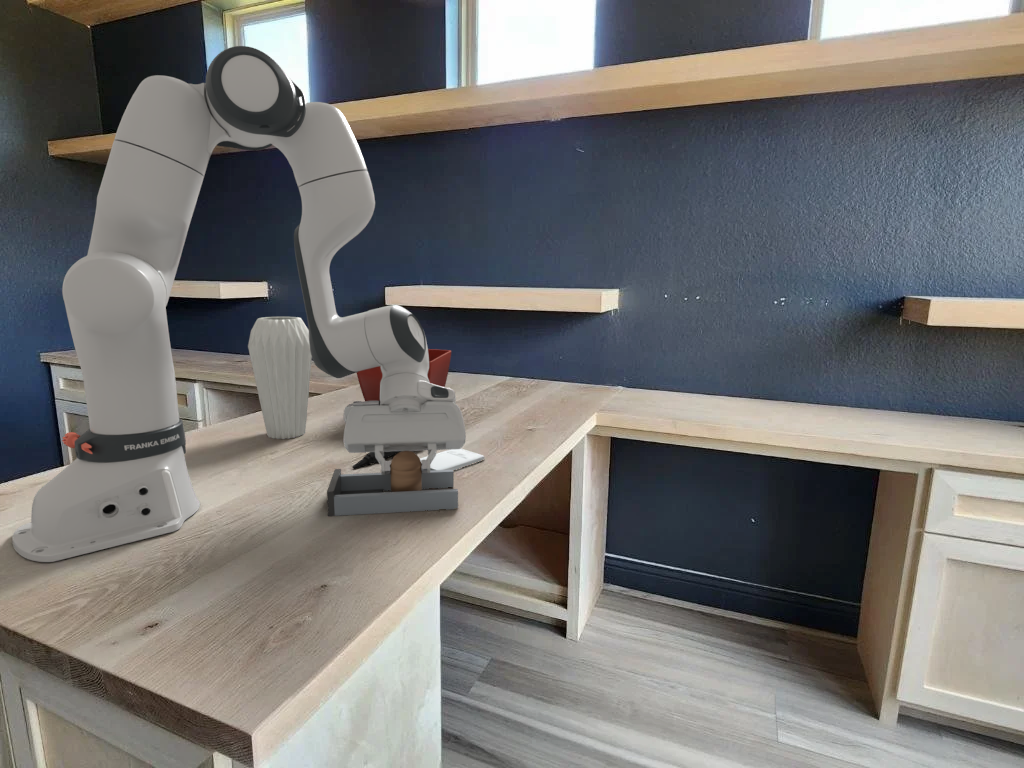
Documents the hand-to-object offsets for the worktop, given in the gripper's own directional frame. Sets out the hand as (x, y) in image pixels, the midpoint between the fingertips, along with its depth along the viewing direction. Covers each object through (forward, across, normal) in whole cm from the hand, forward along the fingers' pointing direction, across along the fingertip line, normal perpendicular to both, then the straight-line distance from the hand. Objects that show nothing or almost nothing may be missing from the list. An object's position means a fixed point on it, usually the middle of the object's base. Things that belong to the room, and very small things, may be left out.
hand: (406, 472), depth 92 cm
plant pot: (-34, 0, +41) cm, 53 cm away
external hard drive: (-9, +8, +16) cm, 20 cm away
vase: (-26, -27, +33) cm, 50 cm away
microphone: (-14, -3, +21) cm, 25 cm away
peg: (+3, 0, +4) cm, 5 cm away
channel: (+3, -2, +4) cm, 5 cm away
